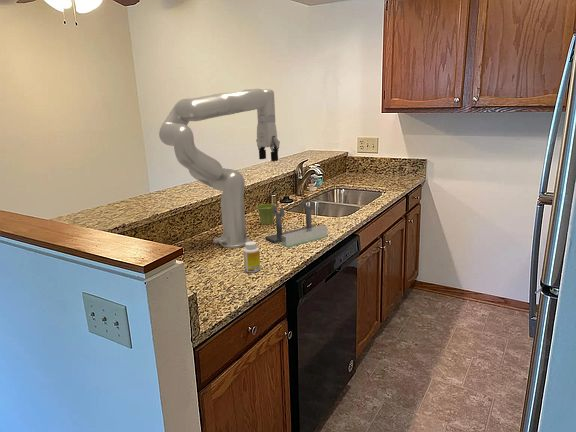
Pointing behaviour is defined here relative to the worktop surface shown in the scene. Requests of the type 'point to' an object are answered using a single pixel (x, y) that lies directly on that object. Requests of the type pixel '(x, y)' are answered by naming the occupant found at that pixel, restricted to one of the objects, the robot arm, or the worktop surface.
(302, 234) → the pale grey bar
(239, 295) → the worktop surface
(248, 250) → the supplement bottle
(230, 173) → the robot arm
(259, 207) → the plant pot
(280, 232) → the hook rack
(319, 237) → the rubber mat
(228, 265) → the worktop surface
